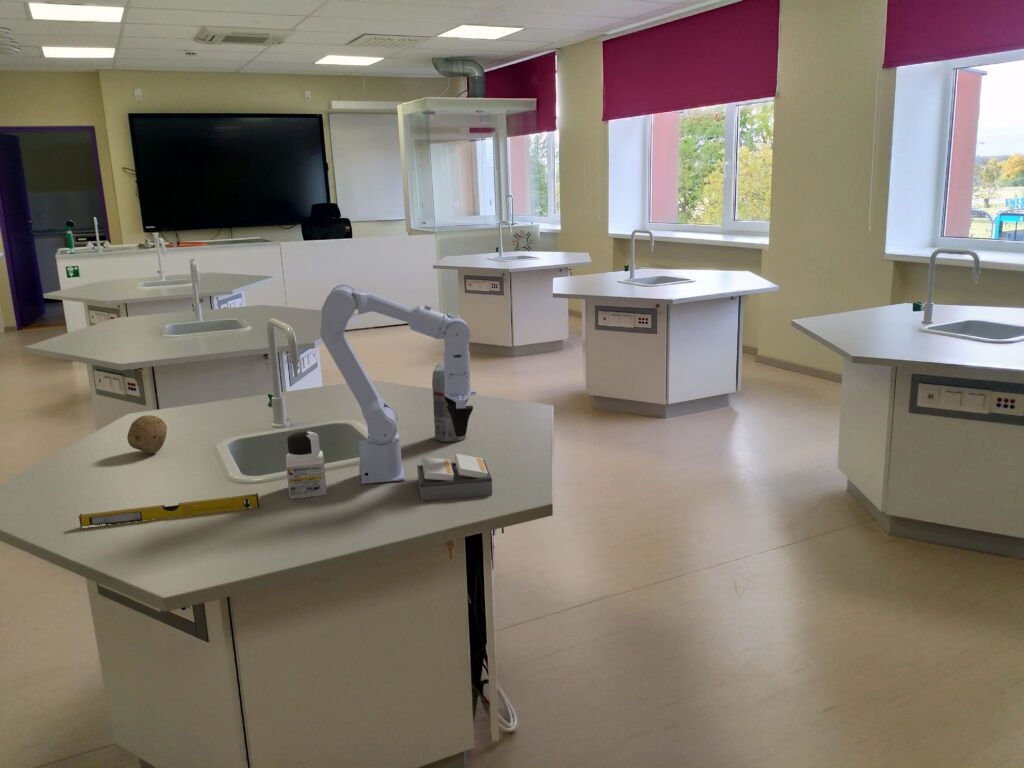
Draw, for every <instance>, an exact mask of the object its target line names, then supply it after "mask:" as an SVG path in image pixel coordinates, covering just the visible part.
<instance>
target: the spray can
mask: <svg viewBox="0 0 1024 768" xmlns="http://www.w3.org/2000/svg"><path fill="white" fill-rule="evenodd" d="M431 381H432V382H431V385H432V387H431V388H432V398H433V399H432V401H433V423H434V440H436V441H438V442H442V443H455V442H460V441H462V440H464V439H465V438H467V435H465V436H456V434H455V430H454V426H453V423H452V419H451V415H450V413H449V411H448V409H447V406H448V404H447V402H446V400H445V398H444V396H445V395H444V391H445V375H444V361H441V362H439V363H438V364H437V365H436V366H435V368H434V370H433V372H432V380H431Z"/></svg>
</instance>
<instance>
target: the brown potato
mask: <svg viewBox="0 0 1024 768" xmlns="http://www.w3.org/2000/svg"><path fill="white" fill-rule="evenodd" d="M167 428H168V427H167V424H166V423H165V421H164V420H163V419H162V418H160V417H159V416H156V415H151V414H150V415H149V414H147V415H142V416H140V417H137V418H136V419H135V420H133V422H132V423H131V425H130V427H129V429H128V433H127V437H126V438H127V442H128V444H129V446H130V447H131V448H133V449H136V450H139V451H142V452H144V453H146V454H148V455H153V454H156V453H158V452H159V451H160V450H161V449H162V448H163V446H164V445H165V442H166V439H167V438H166V437H167V433H168V429H167Z"/></svg>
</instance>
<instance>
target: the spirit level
mask: <svg viewBox="0 0 1024 768" xmlns="http://www.w3.org/2000/svg"><path fill="white" fill-rule="evenodd" d="M257 506H258V507H257ZM249 507H257V508H259V507H260V502H259V494H258V492H257V493H253V494H245V495H236V496H235V495H234V496H228V497H220V498H219V497H218V498H209V499H202V500H201V499H200V500H195V501H185V502H178V504H177V505H176V504H175V505H167V506H165V505H164V504H162V505H161V504H159V505H154V506H153V505H151V506H145V507H144V506H143V507H133V508H126V509H118V510H110V511H109V510H108V511H102V512H93V513H92V512H91V513H83V514H82V513H80V514H79V516H78V518H79V524H80V528H81V527H82V526H90V525H100V524H101V525H102V524H106V525H108V524H117V523H126V522H127V524H129V523H128V522H135V521H143V520H151V521H153V520H152V519H159V520H164V519H163V518H167V519H170V518H169V517H176V518H180V517H179V516H184V517H190V516H189V515H192V516H198V514H200V515H207V514H206V513H208V514H215V513H214V512H216V513H221V512H220V511H224V512H229V511H228V510H232V511H237V510H236V509H241V510H244V509H243V508H249ZM249 509H250V508H249ZM143 522H144V521H143ZM135 523H136V522H135Z"/></svg>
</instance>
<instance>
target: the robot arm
mask: <svg viewBox="0 0 1024 768" xmlns="http://www.w3.org/2000/svg"><path fill="white" fill-rule="evenodd" d="M356 310H357V315H362V314H367V313H371V312H374V313H376V314H381V315H383V316H385V317H386V316H387V317H389V318H393V319H396V320H399V321H401V322H406V323H407V324H408V326H409V328H410V330H411V331H414V332H416V333H419V334H421V335H425V336H428V337H430V338H433V339H435V340H443V341H444V351H443V362H444V375H445V391H444V395H445V396H444V398H445V400H446V402H447V404H448V406H447V409H448V411H449V413H450V415H451V419H452V423H453V426H454V430H455V434H456V436H465V435H466V434H467V430H468V423H469V419H470V416H471V414H472V412H473V410H474V406H473V405H467V402H468V400H469V398H470V397H471V396H472V395H473V396H474V395H477V390H476V389H474V388H473V389H471V357H470V356H471V355H470V354H471V352H470V351H469V348H470V343H469V341H470V339H471V335H472V334H471V332H470V329H469V327H468V324H467V322H466V321H465V320H464V319H462V318H461V317H460V316H458V315H454V316H453V314H452V313H449V312H448V313H447V314H446V313H443V312H440V311H437V310H434V309H432V306H431V305H429V304H425V306H424V305H421V304H420V305H418V306H415V307H412V308H411V307H409V306H406V305H404V304H402V303H399V302H397V301H394V300H392V299H389V298H386V297H384V296H382V295H380V294H377V293H375V292H372V291H368V290H366V289H363V288H359V287H354V288H353V287H352V286H350V285H347V284H339V285H337V286H335V287H334V288H333V289H332V290H331V291H330V293H329V294H328V295H327V296H326V298H325V301H324V302H323V305H322V307H321V320H320V332H319V333H320V334H319V335H320V338H321V341H322V342H323V343H324V345H325V348H326V349H327V351H328V353H329V355H330V357H331V358H332V360H333V361H334V363H335V365H336V367H337V368H338V371H340V373H341V375H342V378H343V379H344V381H345V382H346V384H347V386H348V387H349V390H351V392H352V394H353V396H354V398H355V400H356V402H357V404H358V405H359V407H360V410H361V413H362V415H363V419H364V420H365V421H366V425H367V435H368V436H367V439H364V440H359V441H358V451H359V452H358V455H359V465H358V469H359V470H358V472H359V474H360V483H361V484H362V485H363V484H377V483H387V482H400V481H405V472H404V471H405V470H404V467H403V464H402V449H401V435H400V434H399V433H398V427H397V423H398V413H397V412H396V410H395V409H394V408H393V407H392V406H390V405H388V403H387V402H386V401H385V399H384V398H383V396H381V394H380V393H379V392H378V390H377V388H376V386H375V384H374V383H373V381H372V379H371V378H370V376H369V373H368V372H367V371H366V369H365V367H364V365H363V363H362V362H361V360H360V358H359V356H358V355H357V353H356V351H355V349H354V347H353V346H352V344H351V342H350V341H349V338H348V336H347V334H346V333H345V331H346V327H347V325H348V323H349V320H350V319H351V317H352V316H353V314H355V312H356ZM466 436H467V435H466Z"/></svg>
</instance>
